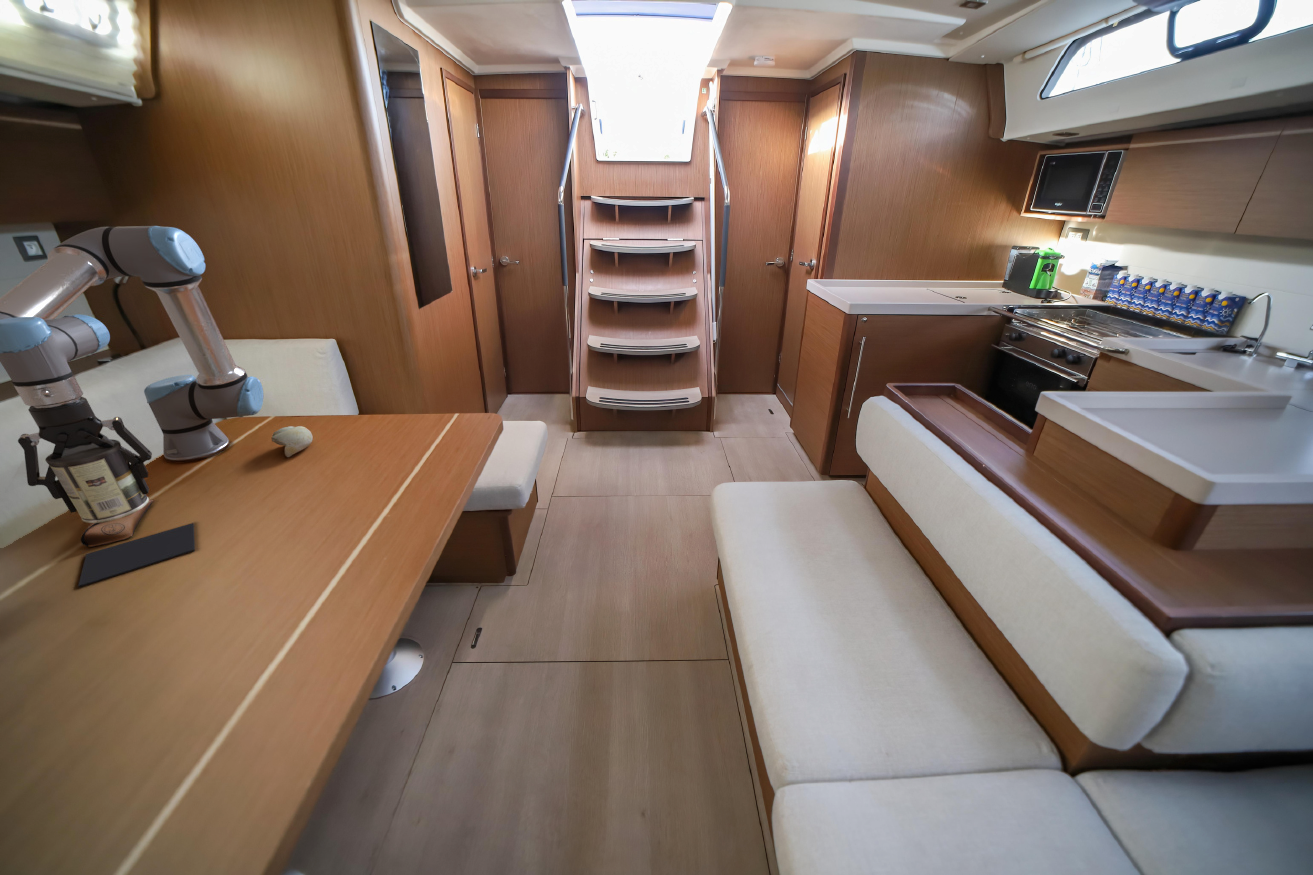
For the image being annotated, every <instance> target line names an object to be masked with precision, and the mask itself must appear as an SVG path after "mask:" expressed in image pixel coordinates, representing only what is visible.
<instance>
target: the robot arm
mask: <svg viewBox="0 0 1313 875" xmlns="http://www.w3.org/2000/svg"><path fill="white" fill-rule="evenodd" d="M205 261H206V260H205V256H204V254H203V252H202V250H201V248H200V246H199V245H198V243H197V241H195V239H193V237H191V236H190V235H189V234H188V233H186V232H185V231H183V230H181V229H180V228H178V227H173V226H159V225H141V226H140V225H139V226H138V225H137V226H136V225H135V226H100V227H95V228H91V229H88V230H85V231H82V232H80V233H77V234H76V235H73V236H72V237H69V238H68V239H65V240H64V241H62V242H61V243H58V245H56V246H55V247H54V248H52V249H51V250H50V251H49V252H48V254H47V261H46V262H44V263H43V264H42V265H41V266H39V267H38V268H37V269H35V270H34V271H33V272H31V273H30V274H29V275H27V277H25V278H24V279H23V280H21V281H20V282H19V283H18V284H16V285H15V286H14V287H13V288H11V289H10V290H9V291H7V292H6V293H5V294H4V295H2V296H1V297H0V364H1V365H2V367H3V369H4V371H5V372H6V373H7V375H8V377H9V378H10V380H11V383H12V384H13V387H14V388H15V390H16V391H17V394H18V395H19V397H20V399H21V400H22V402H23V404H25V406H28V412H29V414H30V415H31V417H32V419H33V421H34V422H35V425H36V426H37V427H38V432H34V433H31V434H29V433H22V434H21V435H20V436H19V438H18V439H17V442H18V444H19V445H20V447H21V448H22V449H23V451H24V452H23V453H24V463H25V471H26V472H25V473H26V480H27V481H26V482H27V486H29V487H36V486H43V487H46V488H47V490H48V492H49V493H50V496H51V497H52V498H53V499H55V500H58V499H62V501H63V502H64V504H65V506H66V507H67V509H68V511H69V512H70V514H74V513H78V511H77V510H76V508H75V506H74V505H73V503H72V501H71V500H70V498H69V496H68V495H67V493H66V491H65V490H64V488H63V486H62V485H61V483H60V481H59V480H58V479H56V478H57V477H56V475H55V473H54V472H53V470H52V468H51V467H50V465H49V464H48V467H47V470H46V473H45V476H41V475H40V464H39V455H38V445H39V443H40V440H41V439H42V440H44V441H46V442H49V443H51V444H53V445H54V447H53V450H52V453H53V454H52V453H51V454H52V457H51V459H53V460H54V459H58V458H61V457H62V455H63V452H64V449H65V448H68V449H72V448H75V447H78V446H86V445H91V444H92V443H94V444H95V445H97V446H100V447H103V448H104V449H105V448H111V447H113V446H114V443H115V442H114V441H112V440H110V439H111V438H109V437H108V436H106V435H105V434H103V433H101V431H102V429H103V428H108V429H109V430H110V431H114V432H115V433H116V434H117V436H119V438H121V439H122V440H123V441H124V442H125V443H126V444H127V445H128V446H129V447H130V448H131V449H132V450H134V452H136V453H134V452H133V451H131V450H129V449H128V448H126V447H124V446H122V445H121V449H120V452H121V454H122V456H123V458H124V459H125V460H126V461H128V462H129V463H130V469H131V471H132V473H133V475H134V477H135V479H136V481H137V483H138V485H139V486H140V488H141V490H142V492H143V494H146V495H148V494H149V492H150V487H149V486H148V484H147V481H146V478H149V470H148V469H147V467H146V465H145V462H147V461H150V460H151V459H152V456H153V453H152V451H151V450H150V449H149V448H148V447H147V446H145V445H144V444H143V443H142V442H141V441H140V439H138V438H137V437H136V436H135V435H134V434H133V433H132V432H131V431H130V430H129V429H128V428H127V427H126V426H125V424H124V422H123V419H122V417H120V416H115V417H113V418H112V419H111V418H110V419H104V420H101V419H99V417H97V416H96V414H95V413H94V410H93V408H92V407H91V405H90V403H89V401H88V399H87V398H86V397H84V391H83V390H82V388H81V386H80V384H79V382H78V380H77V378H76V376H75V375H74V372H72V369H71V368H70V365H69V362H71V361H74V360H77V359H79V358H80V359H81V358H82V357H85V356H88V355H90V354H91V355H92V354H95V353H97V352H98V351H100V350H102V349H104V348H106V346H108V345H109V343H110V340H111V334H110V332H109V330H108V327H106V325H105V324H104V323H103V322H101V320H98V319H97V318H95V317H93V316H90V315H87V314H72V315H64V316H62V317H59V318H58V316H59V315H60V314H61V313H63V311H65V310H66V309H67V308H68V307H69V306H70V305H71V304H73V302H74V301H76V300H77V299H78V298H79V297H80V296H81V295H82V294H83V293H84V292H85V291H86V290H88V289H89V288H90V287H95V286H99V285H102V284H104V282H105V281H106V280H108V279H109V280H110V279H115V278H123V277H124V278H125V277H129V278H131V277H139V278H140V280H141V282H142V284H143V286H144V287H145V288H147V289H149V290H151V291H154V292H155V293H156V294H157V296H158V298H159V300H160V302H161V304H162V306H163V308H164V309H165V312H166V313H167V316H168V317H169V319H170V321H171V323H172V325H173V327H174V329H175V330H176V333H177V335H178V336H179V338H180V340H181V342H182V344H183V346H184V348H185V350H186V352H187V354H188V355H189V358H190V359H191V361H192V363H193V365H194V366H195V368H196V370H197V373H198V374H197V376H196V377H195V376H194V375H193V374H181V375H175V376H171V377H167V378H163V379H161V380H157V381H155V382H152V383H150V384H148V385H147V386H146V387H145V388H144V389H143V393H144V396H145V399H146V403H147V404H148V406H149V408H150V410H151V412H152V415H153V416H154V418H155V420H156V422H157V424H158V426H159V428H160V430H161V433H162V439H163V441H162V443H163V444H162V445H163V446H162V448H163V449H162V450H163V456H164V458H165V461H167V462H169V463H173V464H174V463H176V464H182V463H183V464H185V463H191V462H196V461H201V460H204V459H208V458H211V457H213V456H217V455H219V454H221V453H223V452H225V451H226V450H227V449H228V448H229V447H230V446H231V442H230V439H229V438H228V436H227V435H226V434H225V433H224V432H223V431H222V430H221V428H219V427H218V426H217V425H216V424H215V423H214V420H219V419H228V418H229V419H230V418H243V417H250V416H255V415H257V414H258V413H259V412H261V409H262V407H263V404H264V389H263V385H262V382H261V381H260V379H259V378H257V377H256V376H248V373H247V372H246V370H245V368H244V367H242V366H238V365H236V363H235V361H234V359H233V357H232V354H231V352H230V349H229V348H228V345H227V344H226V341H225V340H224V337H223V335H222V333H221V331H220V329H219V327H218V325H217V322H216V320H215V319H214V317H213V314H212V312H211V310H210V308H209V306H208V303H207V302H206V299H205V297H204V295H203V293H202V291H201V289H200V286H199V285H200V284H201V282H202V280H203V277H202V274H204V272H205V271H206V263H205Z"/></svg>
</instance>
